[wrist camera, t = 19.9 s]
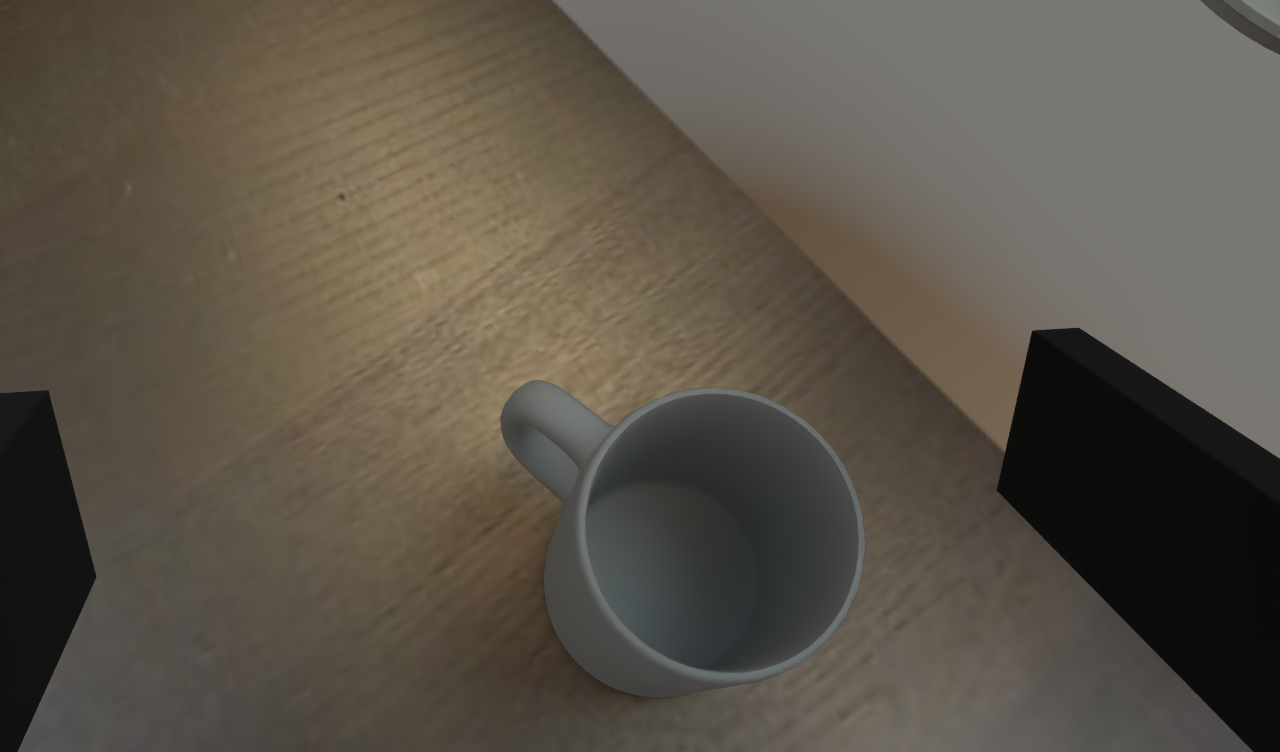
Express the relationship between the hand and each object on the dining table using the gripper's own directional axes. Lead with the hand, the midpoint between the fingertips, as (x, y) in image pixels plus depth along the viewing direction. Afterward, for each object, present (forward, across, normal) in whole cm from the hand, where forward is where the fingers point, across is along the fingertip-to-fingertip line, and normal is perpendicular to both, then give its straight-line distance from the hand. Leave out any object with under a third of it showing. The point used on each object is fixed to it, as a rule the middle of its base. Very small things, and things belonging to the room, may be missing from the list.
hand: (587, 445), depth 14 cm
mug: (+19, +4, -16) cm, 25 cm away
